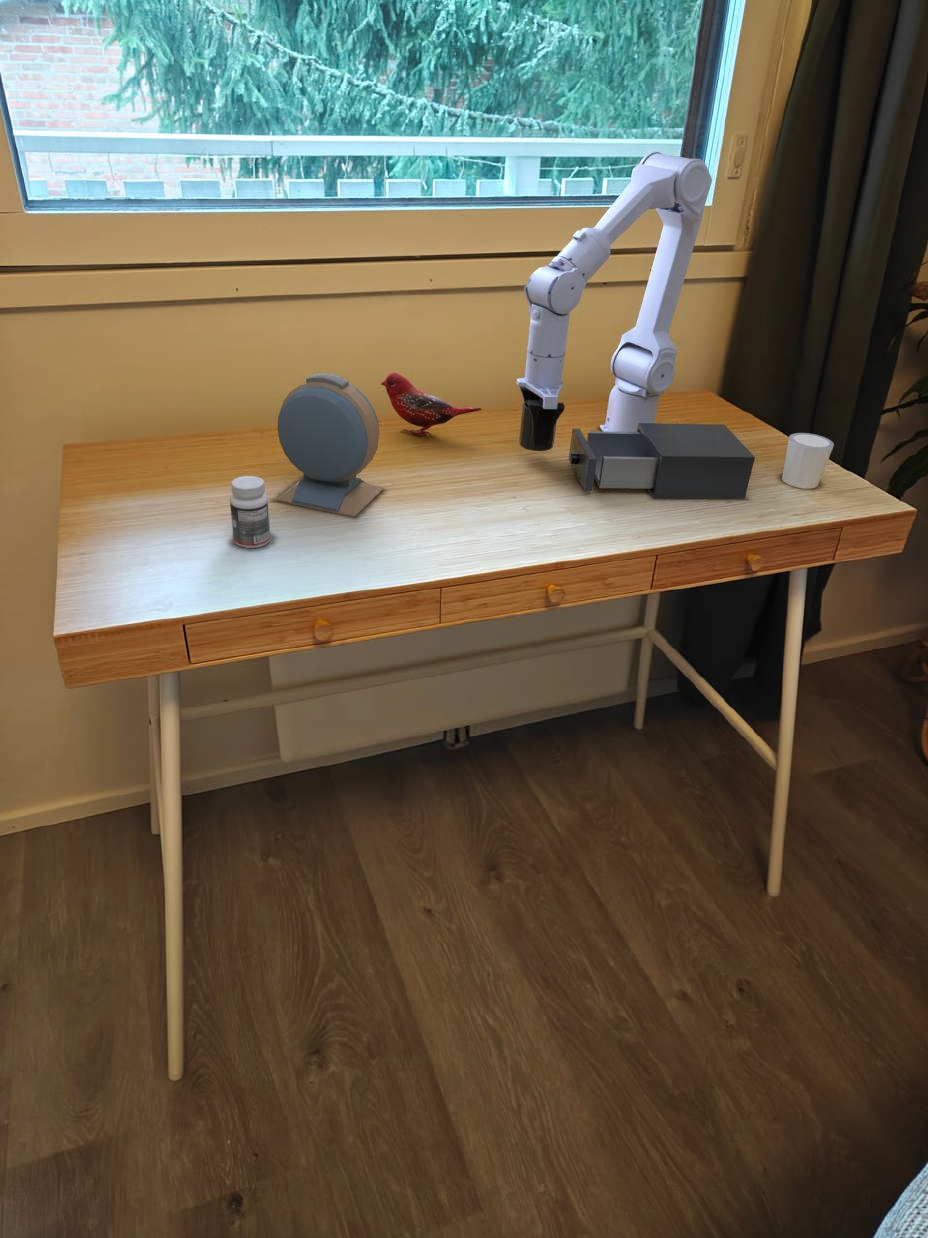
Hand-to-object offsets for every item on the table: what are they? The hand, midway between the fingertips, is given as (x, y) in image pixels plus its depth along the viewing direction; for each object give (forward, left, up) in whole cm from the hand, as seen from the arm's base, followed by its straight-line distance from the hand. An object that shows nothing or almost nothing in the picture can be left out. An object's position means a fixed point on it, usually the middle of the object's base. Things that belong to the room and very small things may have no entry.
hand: (537, 437), depth 142 cm
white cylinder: (+10, +42, -4) cm, 43 cm away
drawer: (+8, +11, -3) cm, 14 cm away
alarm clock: (+10, -33, -4) cm, 35 cm away
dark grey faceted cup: (0, 0, -1) cm, 1 cm away
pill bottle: (+23, -44, -4) cm, 51 cm away
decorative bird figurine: (-12, -15, -4) cm, 20 cm away
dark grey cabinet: (+9, +23, -4) cm, 25 cm away
